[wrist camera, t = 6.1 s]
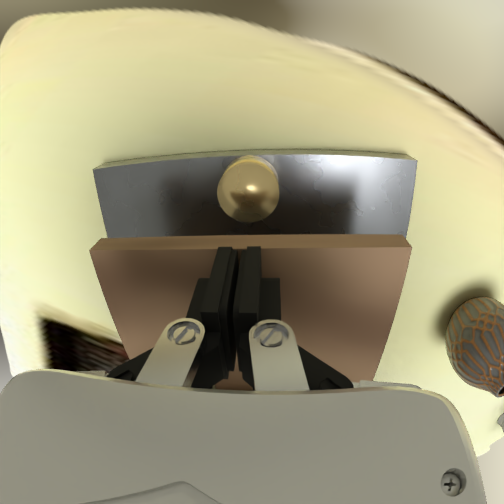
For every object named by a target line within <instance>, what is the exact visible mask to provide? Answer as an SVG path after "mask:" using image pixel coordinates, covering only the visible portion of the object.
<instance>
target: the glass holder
mask: <svg viewBox="0 0 504 504" xmlns="http://www.w3.org/2000/svg"><path fill="white" fill-rule="evenodd" d="M497 423H498V424H499V425H500V426H501V427H502V429H503V432H504V413H503V414H502V415H501V416H500V417H499V419H498V420H497Z"/></svg>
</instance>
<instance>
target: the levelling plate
mask: <svg viewBox="0 0 504 504" xmlns="http://www.w3.org/2000/svg"><path fill="white" fill-rule="evenodd" d="M247 246H261V268H262V278H280V296H281V321H283V322H285V323H287V324H288V325H289V326H290V327H291V328H292V330H293V332H294V336H295V339H296V343H297V345H299V346H300V347H302V348H303V349H305V350H306V351H308V352H309V353H311V354H312V355H314V356H315V357H317V358H318V359H320V360H321V361H323V362H324V363H326V364H328V365H329V366H331V367H332V368H334V369H335V370H337V371H338V372H340V373H342V374H343V375H345V376H346V377H347V378H348V379H350V381H351V382H356V383H359V382H360V380H366V381H373V378H374V376H375V373H376V370H377V368H378V365H379V362H380V359H381V356H382V354H383V351H384V348H385V345H386V342H387V339H388V336H389V333H390V329H391V326H392V323H393V320H394V316H395V313H396V310H397V306H398V303H399V299H400V295H401V292H402V288H403V284H404V280H405V276H406V272H407V268H408V263H409V259H410V255H411V250H412V247H411V245H410V244H409V243H408V241H407V240H406V239H405V237H404V236H403V235H399V234H298V235H217V236H169V237H131V238H101V239H100V240H99V241H98V242H97V243H96V244H95V245H94V246H93V247H92V248H91V249H90V250H89V251H90V254H91V258H92V261H93V264H94V267H95V270H96V274H97V277H98V280H99V282H100V285H101V288H102V291H103V294H104V297H105V300H106V302H107V305H108V308H109V310H110V313H111V316H112V318H113V321H114V323H115V326H116V328H117V331H118V333H119V336H120V338H121V340H122V343H123V345H124V347H125V350H126V352H127V354H128V357H129V359H130V360H131V359H133V358H135V357H137V356H138V355H140V354H142V353H144V352H146V351H148V350H150V349H151V348H153V347H154V346H155V345H156V343H157V341H158V339H159V338H160V336H161V334H162V332H163V331H164V329H165V328H166V326H167V325H168V324H170V323H171V322H173V321H175V320H178V319H182V318H186V315H187V312H188V309H189V305H190V302H191V299H192V296H193V293H194V290H195V287H196V284H197V281H198V279H199V278H210V274H211V270H212V267H213V263H214V260H215V256H216V253H217V249H218V247H232V248H233V250H237V251H238V263H239V266H240V259H241V253H242V250H247ZM216 385H217V389H219V390H243V391H253V389H252V387H251V386H250V385H249V384H248V383H246V382H245V381H244V380H243V378H242V372H239V367H238V359H237V352H236V361H235V369H234V371H229V377H228V379H223V380H221V381H220V382H218V383H217V384H216Z"/></svg>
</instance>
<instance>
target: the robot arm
mask: <svg viewBox="0 0 504 504" xmlns="http://www.w3.org/2000/svg"><path fill="white" fill-rule="evenodd" d="M236 352H237V359H238V367H239V372H242V378H243V380H244V381H245V382H246V383H248V384H249V385H250V386H251V387H252V389H253V391H243V390H219V389H217V385H216V384H217V383H218V382H220V381H221V380H223V379H228V377H229V371H234V369H235V361H236ZM0 504H487V502H486V496H485V492H484V487H483V482H482V477H481V473H480V469H479V465H478V461H477V457H476V454H475V451H474V448H473V445H472V442H471V439H470V436H469V434H468V431H467V429H466V426H465V424H464V422H463V420H462V418H461V416H460V414H459V412H458V411H457V409H456V408H455V406H454V405H453V404H452V403H451V402H450V401H449V400H448V399H447V398H445V397H443V396H442V395H439V394H437V393H434V392H431V391H428V390H423V389H421V388H420V387H418V386H416V385H412V384H400V383H387V382H376V381H366V380H360V382H359V383H356V382H351V381H350V379H348V378H347V377H346V376H345V375H343V374H342V373H340V372H338V371H337V370H335V369H334V368H332V367H331V366H329V365H328V364H326V363H324V362H323V361H321V360H320V359H318V358H317V357H315V356H314V355H312V354H311V353H309V352H308V351H306V350H305V349H303V348H302V347H300V346H299V345H297V343H296V339H295V336H294V332H293V330H292V328H291V327H290V326H289V325H288V324H287V323H285V322H283V321H281V296H280V278H262V268H261V246H247V250H242V253H241V259H240V266H239V263H238V251H237V250H233V248H232V247H218V249H217V253H216V256H215V260H214V263H213V267H212V270H211V274H210V278H199V279H198V281H197V284H196V287H195V290H194V293H193V296H192V299H191V302H190V305H189V309H188V312H187V315H186V318H182V319H178V320H175V321H173V322H171V323H170V324H168V325H167V326H166V328H165V329H164V331H163V332H162V334H161V336H160V338H159V339H158V341H157V343H156V345H155V346H154V347H153V348H151V349H150V350H148V351H146V352H144V353H142V354H140V355H138V356H137V357H135V358H133V359H131V360H129V361H127V362H125V363H123V364H122V365H120V366H118V367H116V368H114V369H113V370H112V371H110V373H106V371H83V372H72V371H65V370H56V369H37V370H30V371H26V372H23V373H20V374H18V375H16V376H15V377H13V378H12V379H11V380H10V381H9V382H8V384H7V385H6V386H5V388H4V389H3V390H2V392H1V394H0Z"/></svg>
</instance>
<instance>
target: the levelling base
mask: <svg viewBox="0 0 504 504" xmlns="http://www.w3.org/2000/svg"><path fill="white" fill-rule="evenodd" d="M416 169H417V160H416V159H414V158H412V157H410V156H409V155H405V154H393V153H381V152H365V151H346V150H312V149H271V150H237V151H217V152H201V153H188V154H176V155H166V156H156V157H147V158H138V159H130V160H123V161H116V162H109V163H104V164H102V165H100V166H98V167H96V168H95V169H93V173H94V178H95V183H96V188H97V193H98V198H99V202H100V207H101V211H102V215H103V220H104V224H105V228H106V232H107V236H108V238H131V237H169V236H217V235H298V234H399V235H403V236H404V237H405V239H406V235H407V230H408V224H409V219H410V213H411V206H412V200H413V193H414V185H415V177H416Z"/></svg>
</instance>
